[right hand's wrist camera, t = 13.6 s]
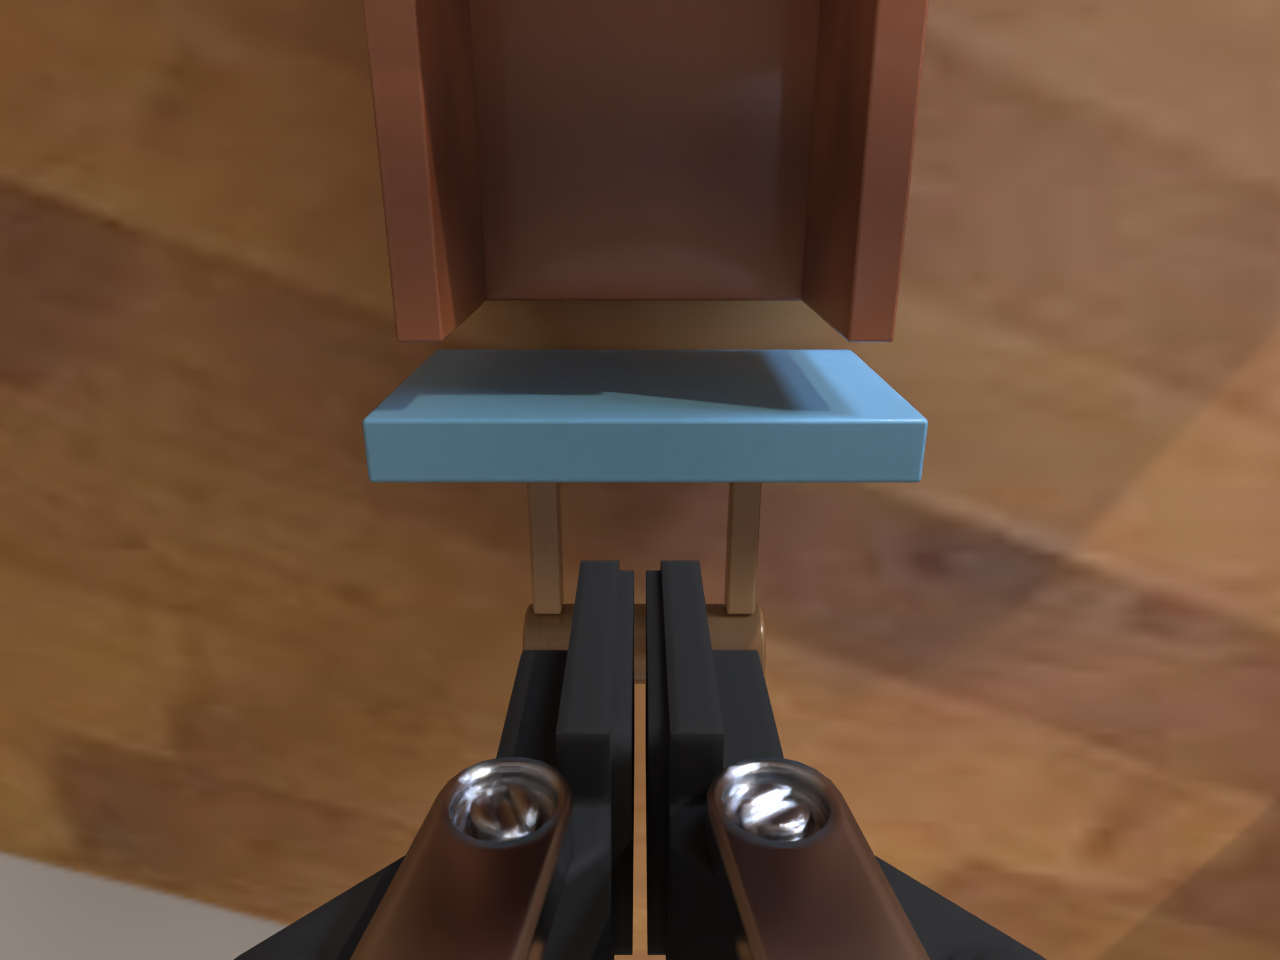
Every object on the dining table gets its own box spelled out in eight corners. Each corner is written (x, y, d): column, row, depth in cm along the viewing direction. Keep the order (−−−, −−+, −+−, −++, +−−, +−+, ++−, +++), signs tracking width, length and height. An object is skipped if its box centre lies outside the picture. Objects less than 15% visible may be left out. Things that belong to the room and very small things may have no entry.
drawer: (830, 594, 23) (891, 734, 17) (456, 594, 23) (397, 734, 17) (952, -804, 14) (1158, -1438, 8) (339, -804, 14) (141, -1439, 8)
